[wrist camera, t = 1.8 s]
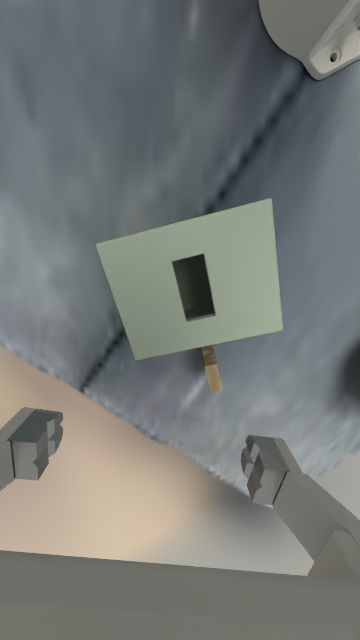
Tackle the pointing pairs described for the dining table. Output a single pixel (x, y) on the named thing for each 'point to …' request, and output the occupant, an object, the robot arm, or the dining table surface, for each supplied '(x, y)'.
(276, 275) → the slot box
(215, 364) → the wooden domino
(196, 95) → the dining table surface
